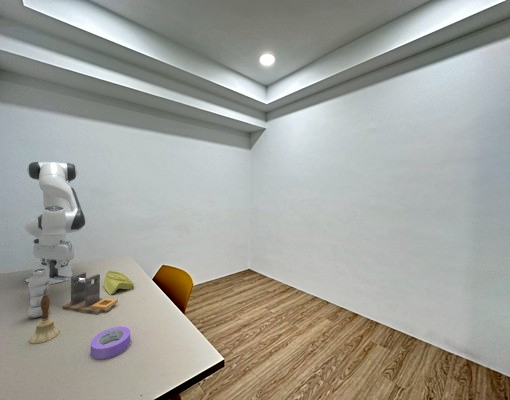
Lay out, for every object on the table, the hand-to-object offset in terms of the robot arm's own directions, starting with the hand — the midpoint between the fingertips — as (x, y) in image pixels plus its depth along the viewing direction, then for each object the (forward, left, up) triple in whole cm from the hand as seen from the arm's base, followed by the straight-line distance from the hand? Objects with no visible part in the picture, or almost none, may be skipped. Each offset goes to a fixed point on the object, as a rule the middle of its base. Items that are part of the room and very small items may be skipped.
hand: (53, 267), depth 105 cm
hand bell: (+25, -21, -17) cm, 37 cm away
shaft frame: (+22, 0, -16) cm, 27 cm away
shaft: (+10, 0, -6) cm, 11 cm away
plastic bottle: (+8, -11, -17) cm, 22 cm away
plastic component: (+17, +21, -17) cm, 32 cm away
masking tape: (+53, -20, -17) cm, 59 cm away
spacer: (+30, 0, -14) cm, 33 cm away
